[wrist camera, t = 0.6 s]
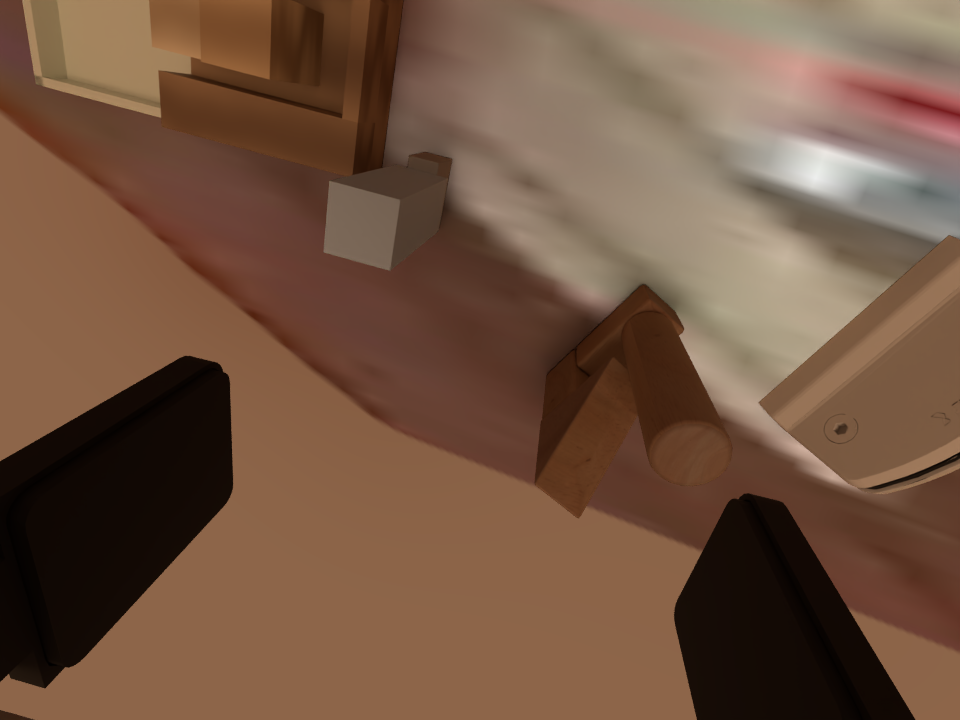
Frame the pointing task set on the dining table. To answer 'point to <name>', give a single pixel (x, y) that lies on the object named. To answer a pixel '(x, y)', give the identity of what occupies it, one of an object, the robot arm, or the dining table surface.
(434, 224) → the square grey bottle
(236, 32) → the oak block
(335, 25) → the groove board
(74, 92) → the tray
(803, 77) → the dining table surface
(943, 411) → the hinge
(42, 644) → the robot arm
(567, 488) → the tan angled rod fixture
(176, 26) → the birch block
